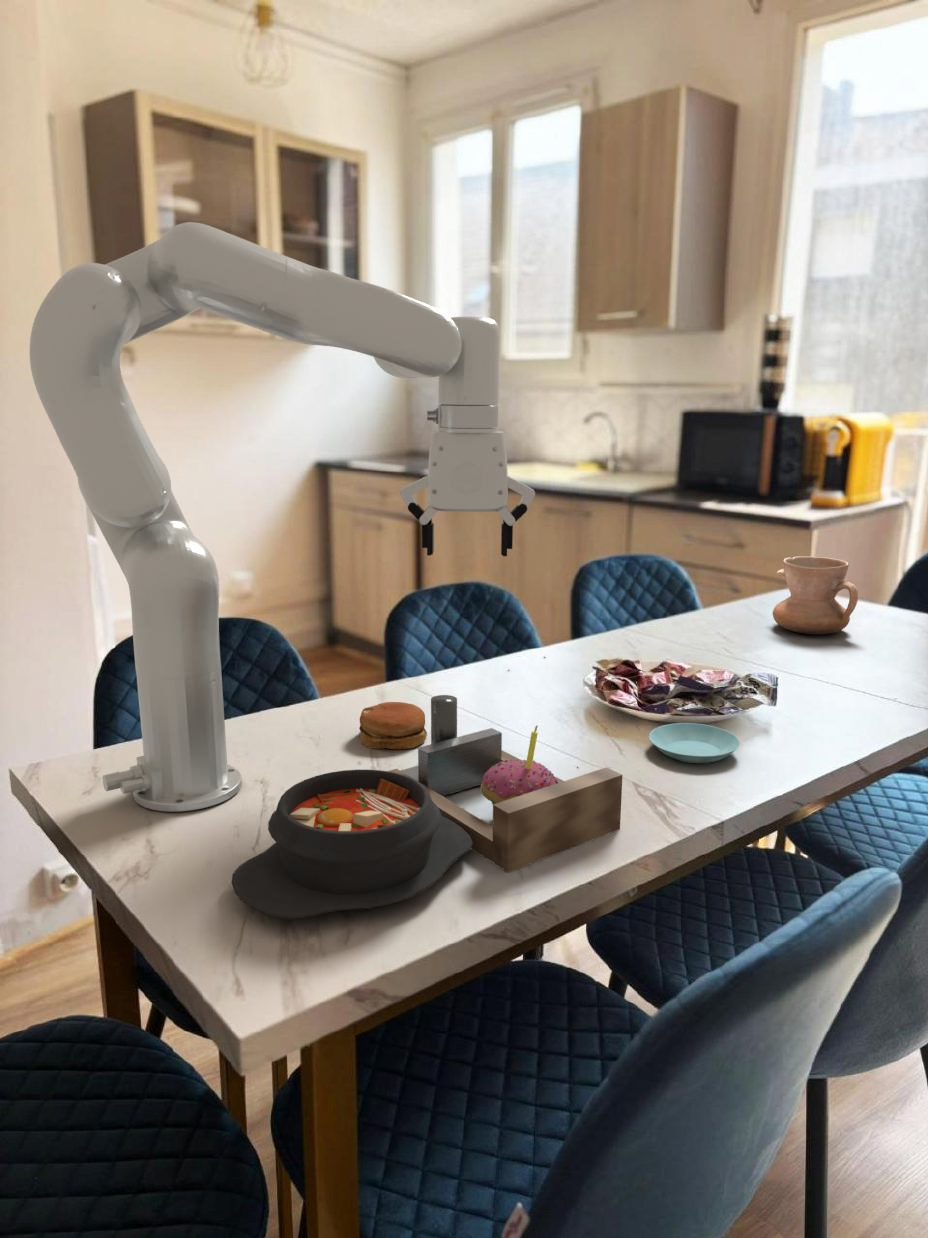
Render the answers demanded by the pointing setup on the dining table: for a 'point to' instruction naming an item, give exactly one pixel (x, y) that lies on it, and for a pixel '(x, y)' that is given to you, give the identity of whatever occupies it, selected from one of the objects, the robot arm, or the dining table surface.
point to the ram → (454, 752)
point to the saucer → (694, 742)
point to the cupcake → (516, 777)
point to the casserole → (350, 846)
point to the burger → (392, 726)
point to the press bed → (541, 818)
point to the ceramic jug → (814, 595)
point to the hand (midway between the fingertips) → (467, 554)
